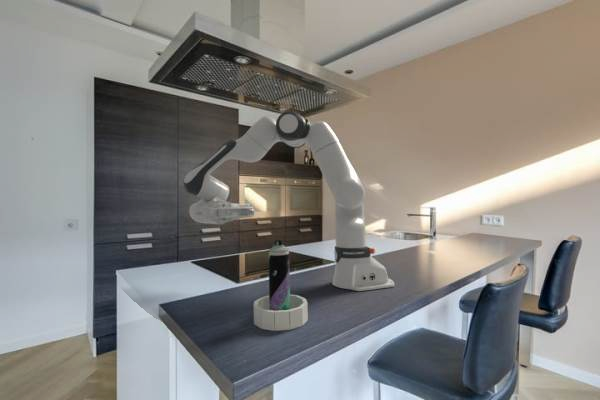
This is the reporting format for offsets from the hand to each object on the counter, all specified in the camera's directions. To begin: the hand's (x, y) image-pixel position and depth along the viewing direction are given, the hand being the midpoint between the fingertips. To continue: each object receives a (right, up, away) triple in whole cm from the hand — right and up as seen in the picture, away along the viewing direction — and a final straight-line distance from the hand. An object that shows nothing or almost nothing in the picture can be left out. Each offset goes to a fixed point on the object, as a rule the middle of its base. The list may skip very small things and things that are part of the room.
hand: (241, 212), depth 101 cm
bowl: (+15, -27, -22) cm, 38 cm away
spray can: (+15, -27, -22) cm, 38 cm away
